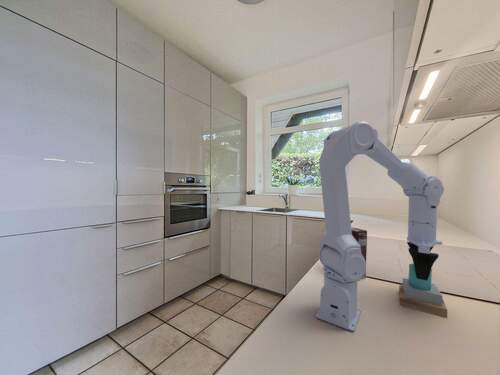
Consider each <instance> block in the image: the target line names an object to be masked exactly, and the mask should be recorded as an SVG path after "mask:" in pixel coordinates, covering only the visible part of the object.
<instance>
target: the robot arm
mask: <svg viewBox="0 0 500 375" xmlns="http://www.w3.org/2000/svg"><path fill="white" fill-rule="evenodd" d="M378 132H379V131H378V130H377V129H376V128H374V127H373V126H372V125H371V124H370V123H369V122H367V121H364V120H359V121H356V122H354V123H352V124H351V125H347V126H346V127H343V128H340V129H338V130H334V131H332V132H330V133H329V134H328V135H327V136H326V137H325V138H324V139H323V148H322V151H321V154H320V156H319V162H318V164H319V173H320V174H319V175H320V176H319V177H320V183H321V193H322V194H321V195H322V201H323V202H322V204H323V213H324V223H325V233H326V234H325V235H323V237H322V238H321V239H320V247H319V248H320V249H319V251H318V258H319V261H320V263H321V264H322V265H323V268H322V269H323V272H324V273H323V277H324V278H323V285H322V288H321V290H320V301H319V302H320V307H319V309H318V311H317V312H316V314H315V317H316V319H319V320H322V321H325V322H326V323H329V324H333V325H334V326H337V327H340V328H343V329H345V330H347V331H351V332H355V330H356V327H357V324H358V322H359V318H360V314H361V311H362V310H361V308H359V307H358V282H360V280H361V279H360V278H361V277H362V276H363V275H364V273H365V270H366V271H367V260H366V261H365V259H364V257H363V256H362V253H361V247H360V245H359V244H358V242H357V241H356V240H355V238H354V237H353V236H352V231H351V227H352V222H351V212H350V202H349V192H348V183H347V180H348V179H347V171H346V167H347V166H348V164H349V163H350V162H351V161H352V160H353V159H354V158H355V157H356V156H358V155H365V156H367V157H368V158H369V159H371V160H373V161H375V162H376V163H378V164H379V165H381V166H382V167H383V168H385V169H386V170H387V176H388V177H389V178H390V179H392V180H393V181H395V182H396V183H397V184H398V185H400V187H401V189H402V191H403V194H404V196H406V197H408V217H407V218H408V220H407V221H408V222H407V226H408V227H407V236H406V242H407V243H406V244H407V246H408V248H407V249H408V252H409V255H410V257H411V259H412V264H414V268H415V273H416V277H417V279H422V280H426V281H427V280H428V278H429V275H430V272H431V269H433V266H434V263H436V261H437V260H438V259H439V257H440V256H439V254H438V253H436V252H435V253H434V252H431V251H432V250H433V249H434V246H437V245H439V246H440V245H443V241H442V240H438V239H437V217H438V216H437V213H438V208H437V207H438V206H439V205H440V204H441V198H442V196H443V194H444V191H445V187H444V185H443V182H442V180H440V178H438V177H436V176H432V175H430V176H429V175H428V174H427V173H425V171H424V170H422V169H421V168H419V167H418V166H417V165H416V164H414V161H413V160H412V159H410V158H409V159H407V158H399V157H398V156H397V155H396V154H395V153H394V152H393V151H392V150H391V149H390V148H389V147H388V146H387V145H386V144H385V143H384V142H383V141H382V140H381V139H380V138H379V133H378Z"/></svg>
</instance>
